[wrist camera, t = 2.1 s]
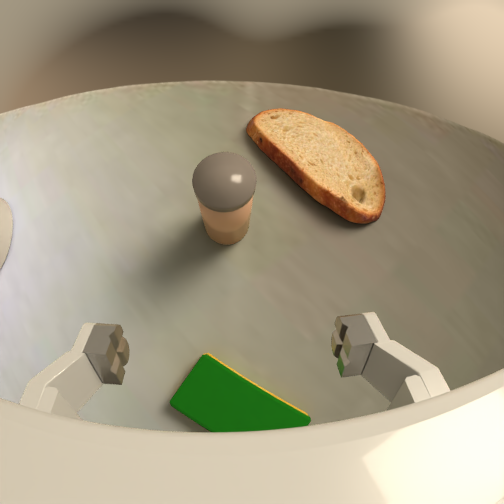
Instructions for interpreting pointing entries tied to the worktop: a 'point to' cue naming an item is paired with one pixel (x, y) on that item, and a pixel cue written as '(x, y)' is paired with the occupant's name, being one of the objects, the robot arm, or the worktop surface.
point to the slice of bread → (322, 162)
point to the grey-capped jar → (225, 195)
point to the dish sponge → (232, 401)
